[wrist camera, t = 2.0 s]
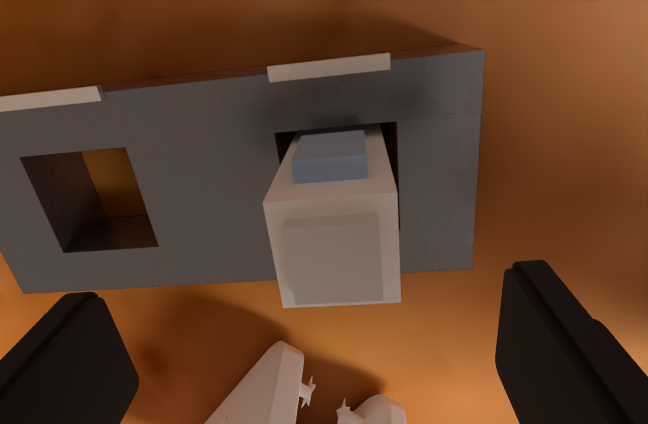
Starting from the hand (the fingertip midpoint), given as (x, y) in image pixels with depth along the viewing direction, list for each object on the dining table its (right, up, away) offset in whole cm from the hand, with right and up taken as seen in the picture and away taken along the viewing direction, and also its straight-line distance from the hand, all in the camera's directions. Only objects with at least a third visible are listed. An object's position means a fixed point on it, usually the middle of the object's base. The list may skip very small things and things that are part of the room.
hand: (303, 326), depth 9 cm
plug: (+1, +6, +12) cm, 14 cm away
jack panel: (-4, +5, +13) cm, 15 cm away
